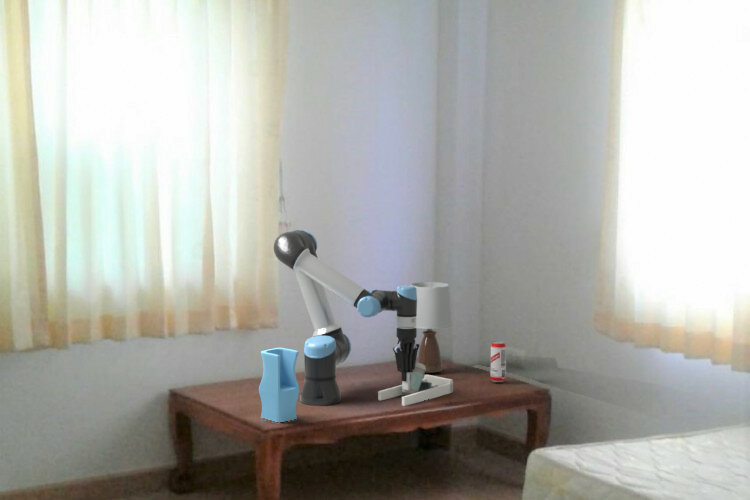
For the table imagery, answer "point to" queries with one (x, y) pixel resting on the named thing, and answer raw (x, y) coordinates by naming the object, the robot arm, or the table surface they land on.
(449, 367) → the table surface
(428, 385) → the block
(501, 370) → the beer can
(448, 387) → the lane
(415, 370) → the coffee cup
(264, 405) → the vase
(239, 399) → the table surface
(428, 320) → the lamp
